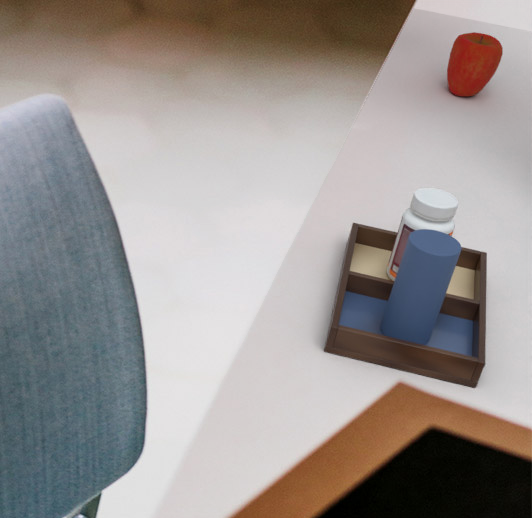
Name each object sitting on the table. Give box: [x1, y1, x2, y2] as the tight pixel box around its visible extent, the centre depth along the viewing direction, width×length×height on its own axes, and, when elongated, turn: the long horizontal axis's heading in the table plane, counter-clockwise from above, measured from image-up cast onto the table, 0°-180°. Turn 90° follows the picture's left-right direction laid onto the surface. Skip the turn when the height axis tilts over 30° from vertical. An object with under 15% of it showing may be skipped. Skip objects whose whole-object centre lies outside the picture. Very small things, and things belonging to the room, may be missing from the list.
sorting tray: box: [323, 222, 488, 389], centre depth 108 cm, size 13×20×3 cm, turn 164°
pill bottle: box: [387, 187, 459, 281], centre depth 110 cm, size 5×5×8 cm
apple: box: [446, 32, 504, 97], centre depth 150 cm, size 6×6×8 cm
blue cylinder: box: [381, 229, 462, 345], centre depth 102 cm, size 4×4×9 cm
